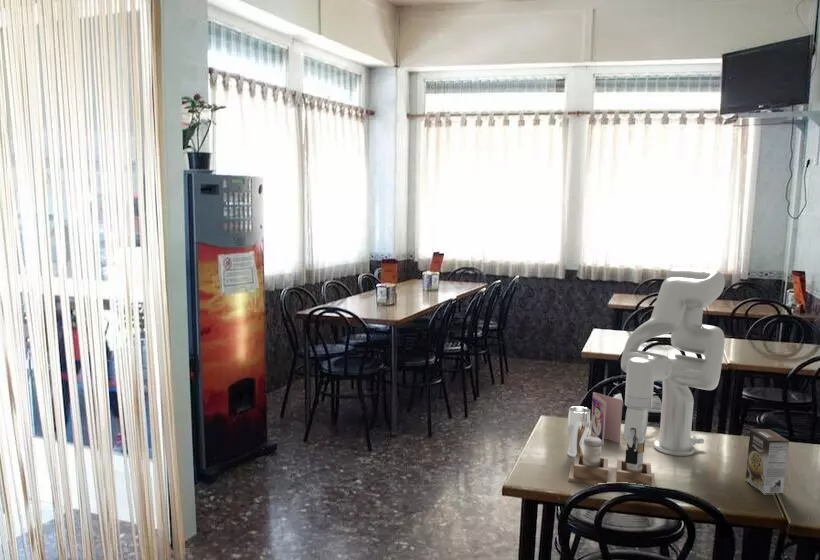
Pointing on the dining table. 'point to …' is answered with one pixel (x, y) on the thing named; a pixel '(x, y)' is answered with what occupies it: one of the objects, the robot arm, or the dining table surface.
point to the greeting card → (606, 417)
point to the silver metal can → (578, 429)
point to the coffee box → (767, 460)
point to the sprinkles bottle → (639, 464)
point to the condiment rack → (605, 468)
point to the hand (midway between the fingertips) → (634, 457)
